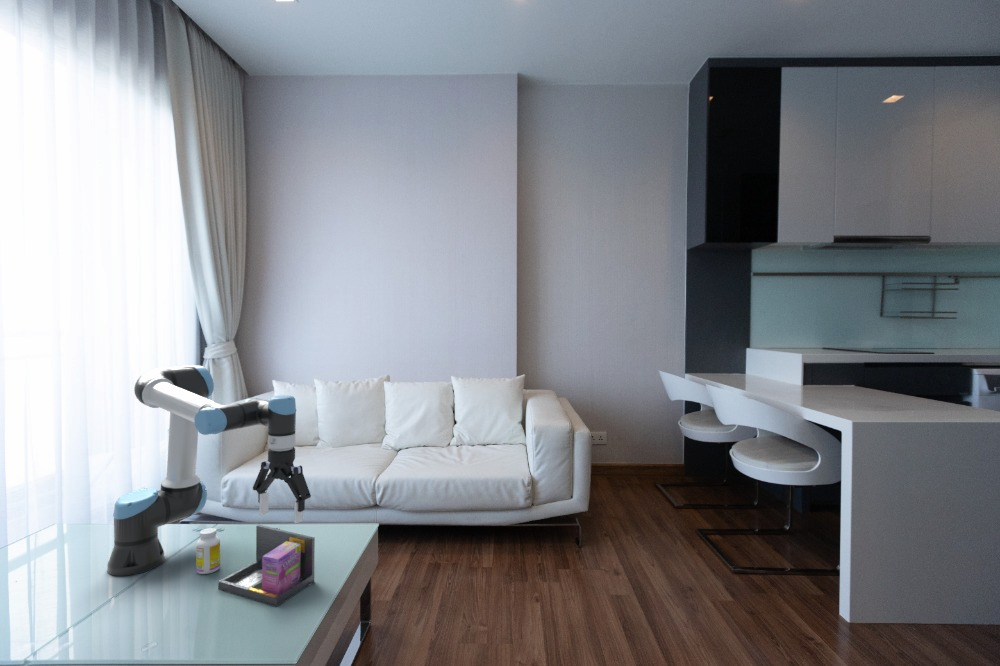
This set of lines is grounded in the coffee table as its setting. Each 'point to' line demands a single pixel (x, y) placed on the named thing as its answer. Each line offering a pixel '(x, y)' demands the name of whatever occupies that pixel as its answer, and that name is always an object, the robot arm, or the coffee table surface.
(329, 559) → the coffee table surface
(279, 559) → the box
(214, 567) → the supplement bottle
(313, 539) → the rack
